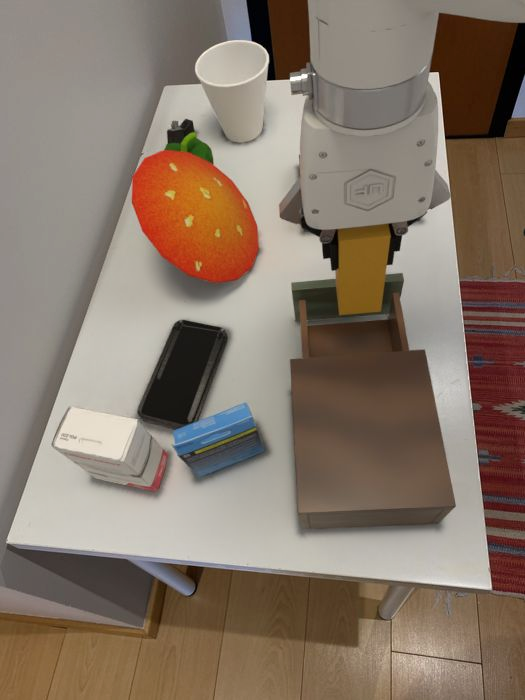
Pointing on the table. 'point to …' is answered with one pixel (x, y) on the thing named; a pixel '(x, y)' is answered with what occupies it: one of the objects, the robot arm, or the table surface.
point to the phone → (183, 374)
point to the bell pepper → (192, 147)
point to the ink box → (111, 448)
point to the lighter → (179, 131)
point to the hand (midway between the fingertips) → (359, 255)
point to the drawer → (350, 336)
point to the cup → (236, 86)
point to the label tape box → (218, 440)
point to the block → (361, 268)
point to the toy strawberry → (195, 216)
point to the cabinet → (368, 442)
